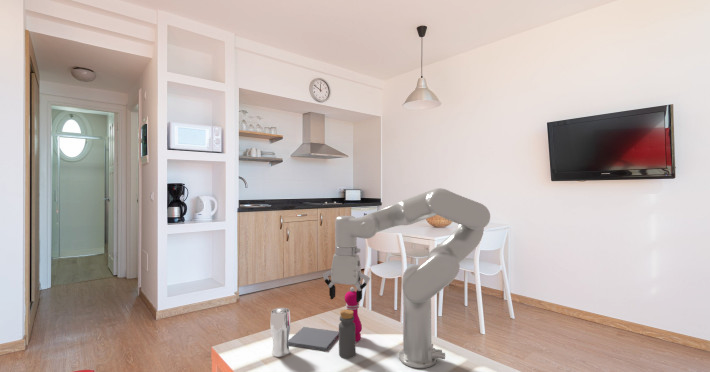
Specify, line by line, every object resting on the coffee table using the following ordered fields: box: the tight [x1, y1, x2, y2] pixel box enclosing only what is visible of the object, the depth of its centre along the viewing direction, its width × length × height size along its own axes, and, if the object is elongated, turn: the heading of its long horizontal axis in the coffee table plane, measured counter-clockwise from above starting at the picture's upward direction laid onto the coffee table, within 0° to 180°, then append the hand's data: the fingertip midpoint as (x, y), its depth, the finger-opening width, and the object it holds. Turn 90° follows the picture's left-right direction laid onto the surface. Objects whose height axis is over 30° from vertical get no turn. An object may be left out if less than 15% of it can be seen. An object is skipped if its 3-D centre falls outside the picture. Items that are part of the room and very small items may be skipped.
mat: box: [288, 326, 339, 352], centre depth 131 cm, size 16×14×1 cm
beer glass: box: [269, 307, 291, 358], centre depth 121 cm, size 7×7×15 cm
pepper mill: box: [344, 286, 363, 343], centre depth 132 cm, size 7×7×20 cm
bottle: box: [338, 309, 357, 359], centre depth 120 cm, size 6×6×15 cm
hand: (345, 299), depth 120 cm, fingers open, 9 cm apart
